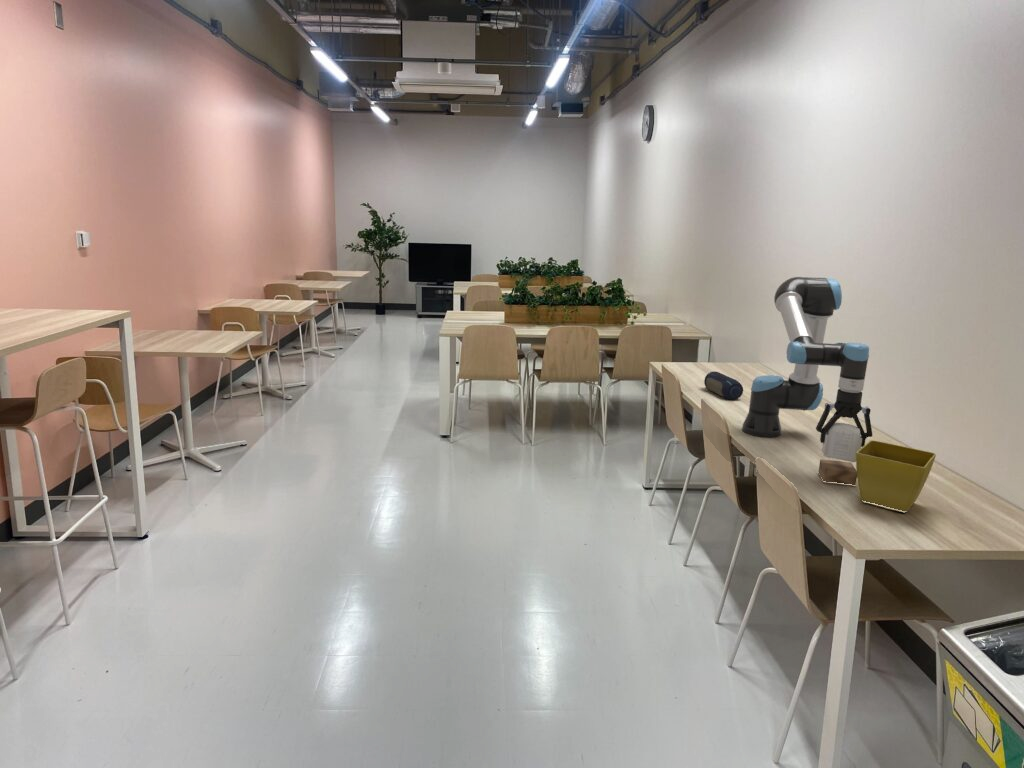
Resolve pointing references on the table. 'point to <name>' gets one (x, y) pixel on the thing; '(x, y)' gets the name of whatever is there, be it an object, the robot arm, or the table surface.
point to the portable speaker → (723, 385)
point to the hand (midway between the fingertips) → (840, 453)
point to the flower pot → (892, 473)
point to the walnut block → (837, 471)
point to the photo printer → (843, 442)
